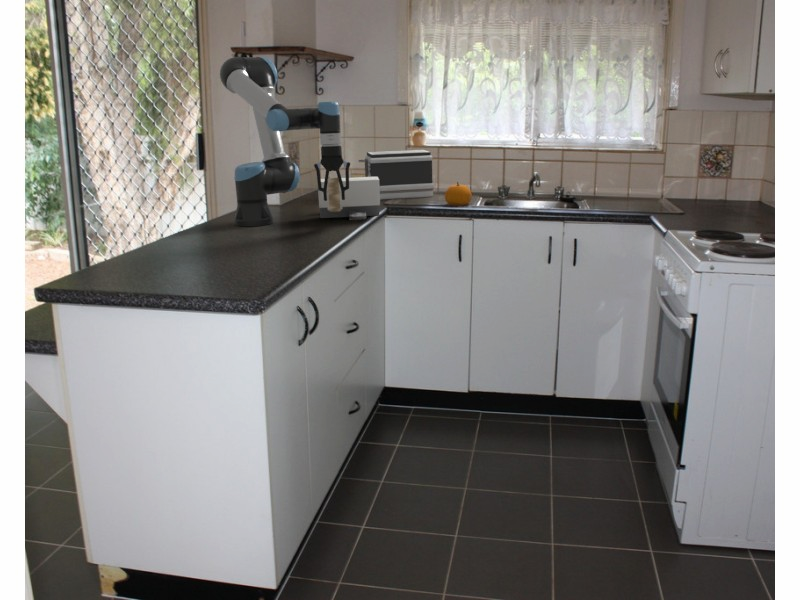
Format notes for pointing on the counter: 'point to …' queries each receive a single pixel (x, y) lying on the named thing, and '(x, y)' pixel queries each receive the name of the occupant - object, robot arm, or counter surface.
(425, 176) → the toaster
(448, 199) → the fruit
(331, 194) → the mottled tan block
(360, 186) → the two-tone white block
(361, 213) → the token
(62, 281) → the counter surface
